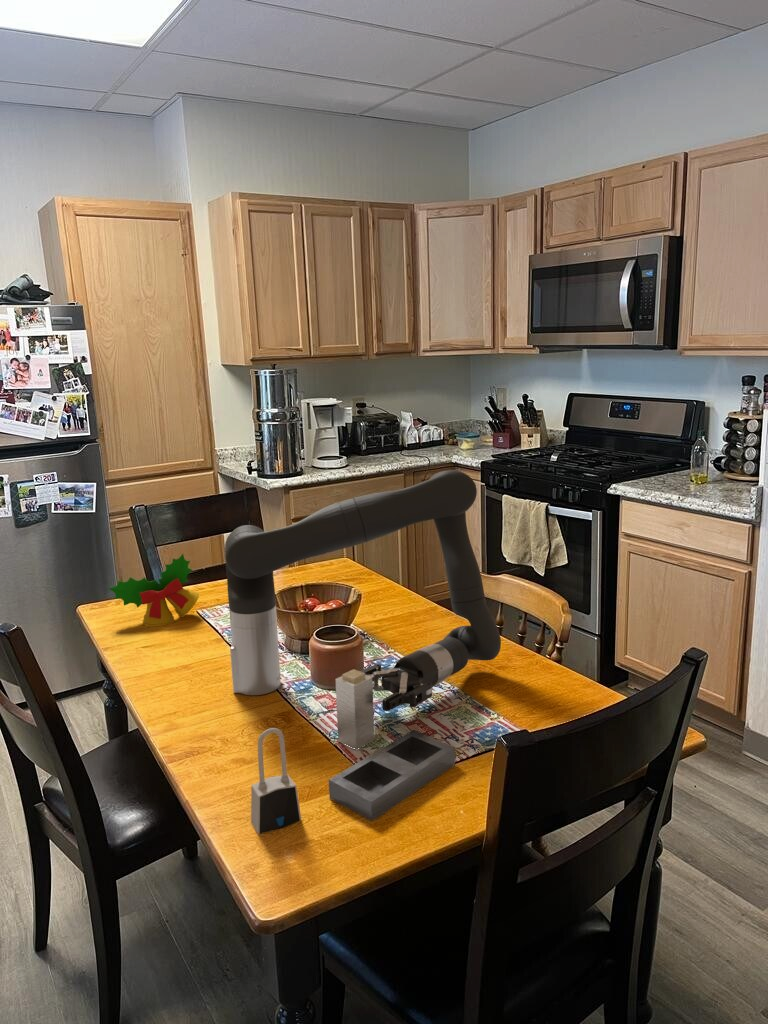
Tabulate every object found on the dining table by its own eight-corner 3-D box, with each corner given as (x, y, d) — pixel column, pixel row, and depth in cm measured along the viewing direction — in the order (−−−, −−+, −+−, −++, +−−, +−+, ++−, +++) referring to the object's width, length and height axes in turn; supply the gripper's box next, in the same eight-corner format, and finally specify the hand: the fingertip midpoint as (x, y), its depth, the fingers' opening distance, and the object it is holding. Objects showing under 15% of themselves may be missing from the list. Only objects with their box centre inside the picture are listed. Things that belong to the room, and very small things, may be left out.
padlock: (258, 835, 112) (252, 741, 109) (250, 820, 116) (243, 728, 112) (302, 822, 115) (297, 729, 112) (292, 807, 119) (287, 717, 115)
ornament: (135, 646, 195) (109, 602, 186) (130, 627, 201) (106, 584, 193) (212, 611, 199) (191, 567, 190) (206, 593, 206) (185, 550, 197)
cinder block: (371, 821, 115) (371, 801, 114) (329, 798, 120) (328, 779, 120) (455, 764, 129) (454, 747, 128) (413, 746, 135) (413, 729, 134)
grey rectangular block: (356, 750, 134) (353, 681, 131) (338, 742, 137) (335, 674, 134) (374, 740, 137) (372, 673, 134) (356, 732, 140) (353, 666, 137)
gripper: (396, 641, 153) (337, 668, 141) (454, 660, 144) (395, 690, 132) (397, 676, 155) (338, 706, 143) (454, 697, 145) (396, 730, 134)
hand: (366, 698), depth 138 cm, fingers open, 8 cm apart
